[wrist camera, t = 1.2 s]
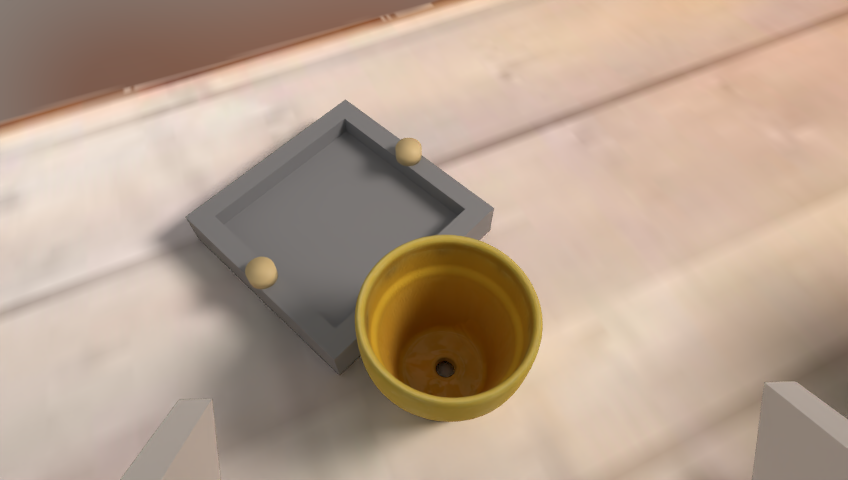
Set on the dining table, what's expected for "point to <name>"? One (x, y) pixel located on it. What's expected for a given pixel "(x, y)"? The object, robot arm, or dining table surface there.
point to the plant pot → (447, 326)
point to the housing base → (332, 222)
